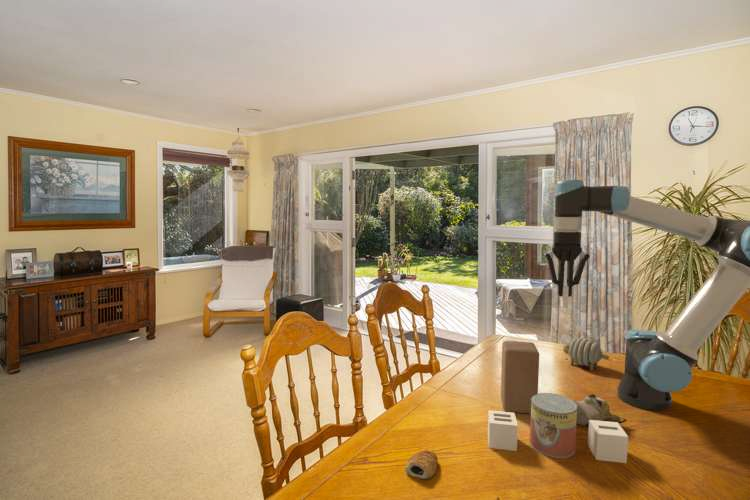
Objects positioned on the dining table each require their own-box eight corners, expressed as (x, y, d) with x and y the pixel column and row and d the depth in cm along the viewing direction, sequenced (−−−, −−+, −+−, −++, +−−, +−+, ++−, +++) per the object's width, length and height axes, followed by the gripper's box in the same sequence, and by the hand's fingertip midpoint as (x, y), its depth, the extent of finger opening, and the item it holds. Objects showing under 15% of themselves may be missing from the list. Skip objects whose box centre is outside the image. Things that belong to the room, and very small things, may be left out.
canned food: (522, 446, 111) (524, 403, 109) (538, 429, 119) (539, 389, 118) (567, 463, 103) (570, 417, 102) (580, 444, 112) (582, 401, 110)
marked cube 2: (616, 447, 110) (617, 421, 110) (626, 463, 103) (628, 436, 103) (587, 444, 112) (589, 419, 111) (595, 460, 105) (597, 433, 104)
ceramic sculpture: (561, 387, 126) (603, 386, 129) (558, 414, 127) (600, 412, 130) (585, 404, 116) (631, 402, 119) (582, 433, 117) (627, 430, 120)
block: (537, 415, 127) (540, 352, 125) (503, 412, 129) (505, 349, 127) (532, 400, 137) (534, 341, 135) (500, 398, 139) (502, 339, 137)
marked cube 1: (513, 436, 116) (514, 412, 115) (516, 451, 109) (517, 425, 108) (487, 434, 117) (488, 409, 116) (489, 448, 110) (489, 422, 109)
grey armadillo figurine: (566, 357, 175) (568, 332, 174) (611, 368, 164) (613, 340, 163) (558, 364, 167) (559, 338, 166) (604, 376, 156) (606, 347, 155)
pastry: (418, 454, 108) (419, 440, 107) (443, 462, 104) (444, 447, 104) (403, 474, 99) (403, 459, 99) (430, 484, 96) (430, 468, 96)
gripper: (587, 230, 130) (583, 304, 132) (542, 230, 132) (539, 302, 135) (594, 231, 122) (590, 310, 125) (547, 231, 125) (544, 308, 127)
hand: (564, 306), depth 130 cm, fingers closed
